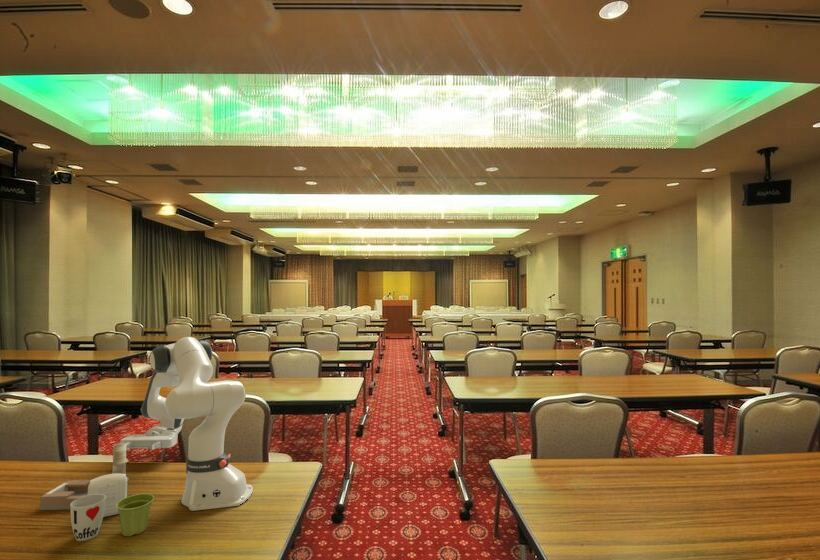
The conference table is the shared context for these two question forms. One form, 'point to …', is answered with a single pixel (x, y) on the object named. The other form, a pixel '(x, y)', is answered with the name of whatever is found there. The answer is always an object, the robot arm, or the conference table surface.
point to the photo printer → (110, 490)
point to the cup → (87, 516)
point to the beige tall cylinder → (119, 459)
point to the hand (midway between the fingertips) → (138, 448)
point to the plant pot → (134, 513)
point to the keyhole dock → (64, 495)
